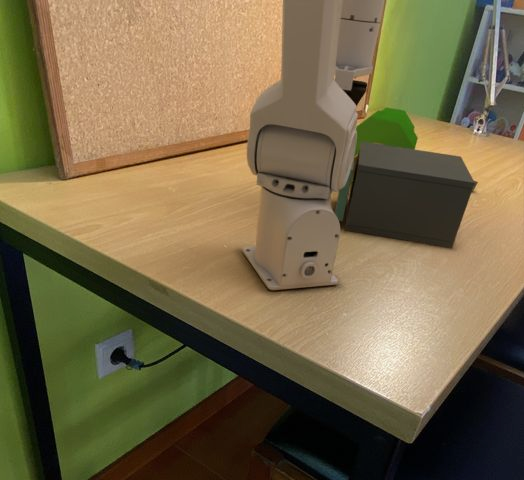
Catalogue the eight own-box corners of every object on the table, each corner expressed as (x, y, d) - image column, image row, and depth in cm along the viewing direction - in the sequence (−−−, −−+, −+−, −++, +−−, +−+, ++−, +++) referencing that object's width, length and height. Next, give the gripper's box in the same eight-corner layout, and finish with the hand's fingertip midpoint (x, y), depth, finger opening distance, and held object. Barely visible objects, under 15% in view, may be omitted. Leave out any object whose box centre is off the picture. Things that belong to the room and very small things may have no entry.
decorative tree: (359, 110, 71) (390, 77, 93) (317, 178, 78) (355, 133, 101) (425, 156, 71) (440, 112, 94) (377, 220, 79) (402, 165, 101)
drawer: (300, 214, 67) (308, 162, 63) (308, 189, 76) (316, 142, 72) (432, 236, 66) (448, 184, 62) (425, 207, 75) (439, 161, 71)
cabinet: (344, 230, 67) (358, 164, 62) (348, 200, 77) (360, 141, 72) (452, 248, 66) (475, 182, 61) (441, 215, 75) (461, 156, 70)
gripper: (326, 13, 65) (309, 125, 73) (315, 17, 53) (297, 151, 61) (381, 20, 64) (358, 132, 72) (382, 26, 52) (355, 160, 60)
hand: (334, 142), depth 67 cm, fingers closed
